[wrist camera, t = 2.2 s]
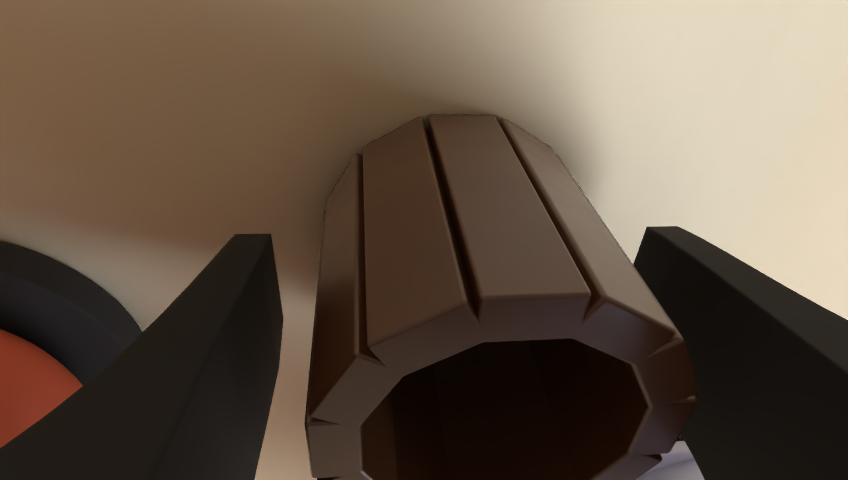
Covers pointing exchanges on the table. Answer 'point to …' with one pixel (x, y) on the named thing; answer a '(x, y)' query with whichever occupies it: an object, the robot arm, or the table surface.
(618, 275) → the napkin ring
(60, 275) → the ball
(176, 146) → the table surface
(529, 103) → the table surface
